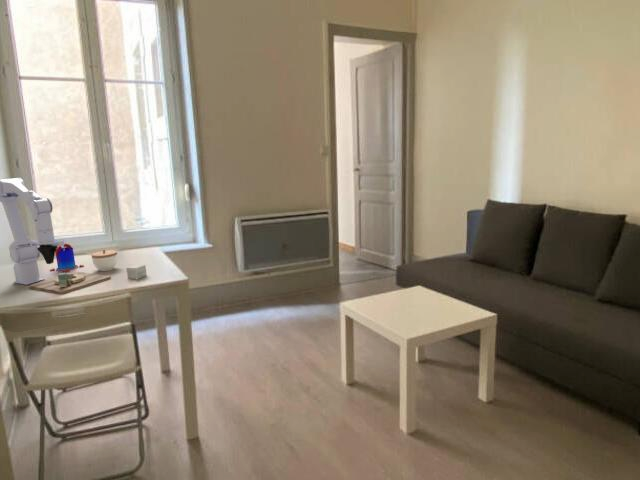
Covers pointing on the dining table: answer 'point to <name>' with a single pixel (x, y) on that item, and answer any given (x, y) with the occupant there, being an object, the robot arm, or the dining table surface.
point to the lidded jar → (105, 260)
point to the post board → (69, 283)
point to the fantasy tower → (65, 259)
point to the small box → (136, 271)
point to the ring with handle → (64, 282)
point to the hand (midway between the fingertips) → (50, 263)
